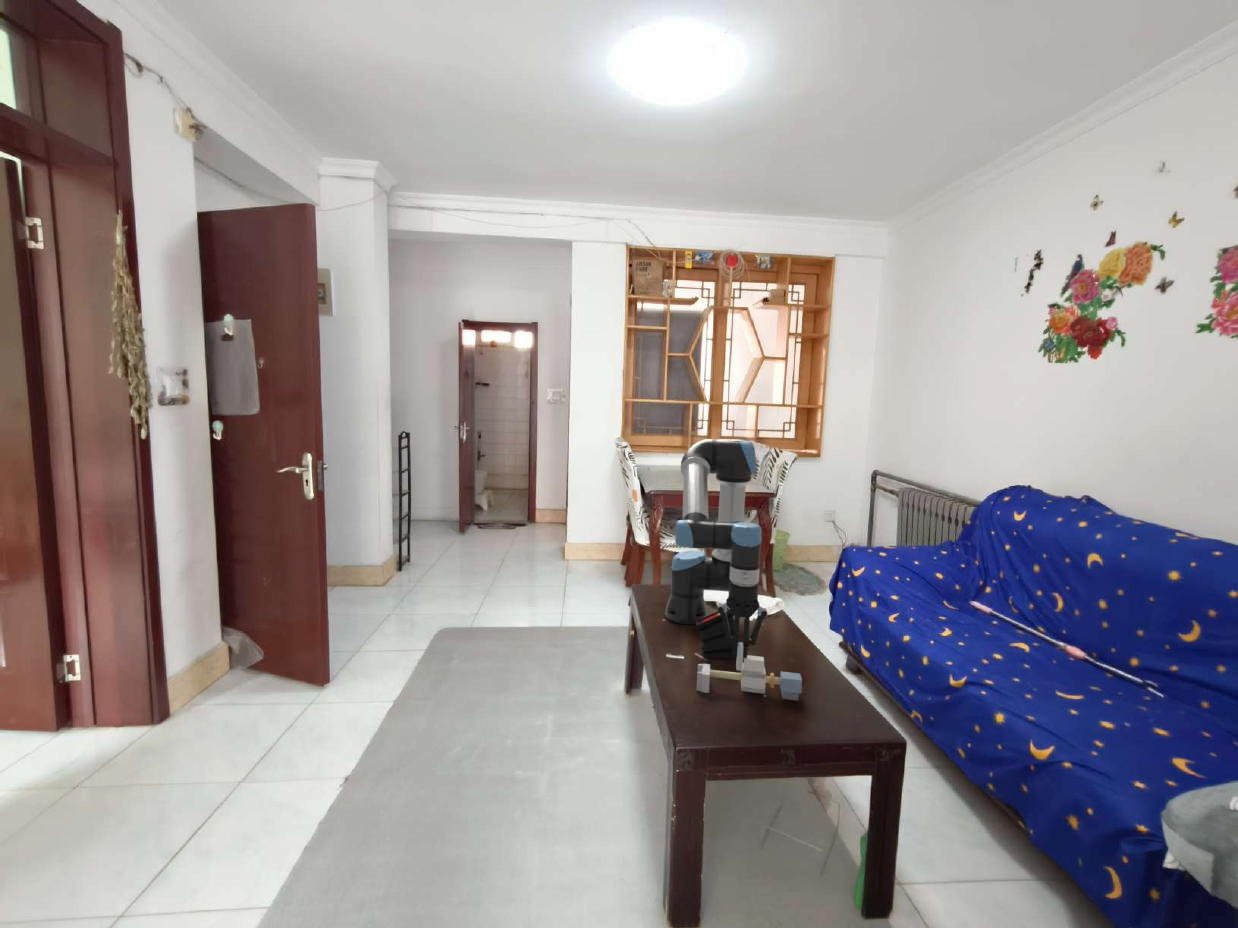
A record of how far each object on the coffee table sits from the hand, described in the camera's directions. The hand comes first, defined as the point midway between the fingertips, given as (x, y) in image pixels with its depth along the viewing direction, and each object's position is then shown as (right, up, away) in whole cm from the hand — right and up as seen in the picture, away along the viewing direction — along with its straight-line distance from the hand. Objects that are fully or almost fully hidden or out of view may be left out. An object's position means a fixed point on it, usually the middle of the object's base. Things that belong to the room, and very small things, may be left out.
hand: (739, 667), depth 144 cm
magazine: (-2, -4, +20) cm, 21 cm away
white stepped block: (+4, -5, 0) cm, 6 cm away
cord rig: (+2, -7, 0) cm, 7 cm away
